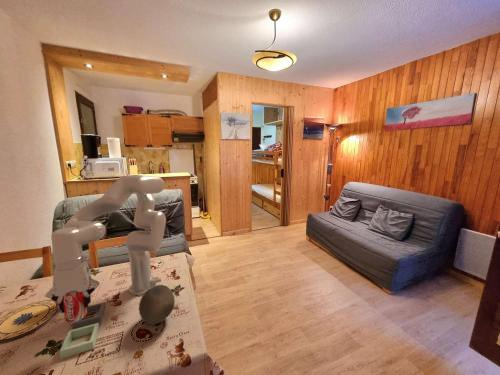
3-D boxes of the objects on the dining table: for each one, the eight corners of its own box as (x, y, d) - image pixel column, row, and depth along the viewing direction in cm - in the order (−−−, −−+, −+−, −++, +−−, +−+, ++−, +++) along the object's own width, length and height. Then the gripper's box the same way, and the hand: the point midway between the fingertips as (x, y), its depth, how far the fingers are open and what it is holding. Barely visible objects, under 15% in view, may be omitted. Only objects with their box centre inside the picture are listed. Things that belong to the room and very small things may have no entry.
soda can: (90, 315, 79) (88, 286, 77) (69, 327, 74) (66, 296, 72) (82, 309, 82) (80, 280, 80) (62, 319, 77) (59, 289, 75)
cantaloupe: (136, 337, 83) (133, 303, 80) (144, 311, 96) (141, 281, 94) (174, 329, 87) (172, 297, 84) (176, 305, 100) (175, 276, 98)
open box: (105, 307, 98) (104, 302, 97) (93, 348, 78) (92, 341, 77) (79, 314, 94) (79, 308, 93) (60, 358, 74) (59, 351, 73)
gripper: (101, 253, 81) (106, 295, 84) (42, 262, 74) (49, 307, 77) (97, 262, 75) (102, 307, 78) (31, 273, 67) (40, 322, 71)
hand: (76, 307), depth 77 cm, fingers closed on soda can, 6 cm apart
